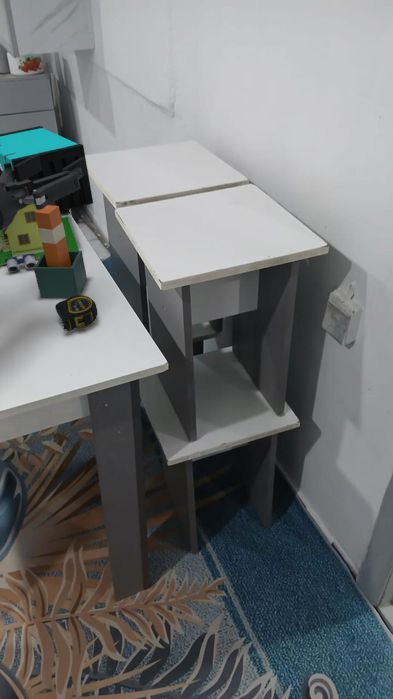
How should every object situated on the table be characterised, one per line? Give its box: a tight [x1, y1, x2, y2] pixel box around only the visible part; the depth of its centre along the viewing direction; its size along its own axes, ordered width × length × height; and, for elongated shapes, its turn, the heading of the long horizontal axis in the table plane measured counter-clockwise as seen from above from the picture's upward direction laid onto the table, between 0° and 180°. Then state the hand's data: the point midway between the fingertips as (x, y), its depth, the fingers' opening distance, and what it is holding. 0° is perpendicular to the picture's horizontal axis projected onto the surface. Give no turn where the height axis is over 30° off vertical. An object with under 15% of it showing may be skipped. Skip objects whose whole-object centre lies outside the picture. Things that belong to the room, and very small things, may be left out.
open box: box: [33, 250, 88, 299], centre depth 105 cm, size 8×7×6 cm
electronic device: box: [0, 125, 94, 212], centre depth 137 cm, size 25×25×15 cm
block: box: [34, 205, 72, 267], centre depth 102 cm, size 3×4×16 cm
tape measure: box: [54, 295, 99, 332], centre depth 96 cm, size 7×7×4 cm
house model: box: [0, 179, 80, 266], centre depth 120 cm, size 18×20×13 cm
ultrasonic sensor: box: [5, 253, 37, 273], centre depth 113 cm, size 6×2×3 cm, turn 108°
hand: (61, 163), depth 95 cm, fingers open, 9 cm apart
